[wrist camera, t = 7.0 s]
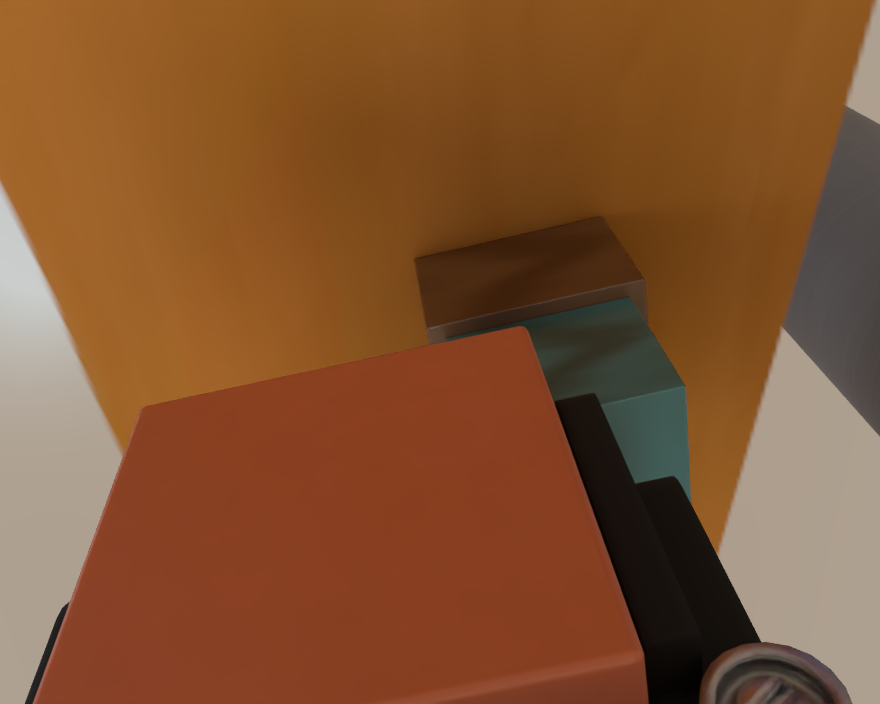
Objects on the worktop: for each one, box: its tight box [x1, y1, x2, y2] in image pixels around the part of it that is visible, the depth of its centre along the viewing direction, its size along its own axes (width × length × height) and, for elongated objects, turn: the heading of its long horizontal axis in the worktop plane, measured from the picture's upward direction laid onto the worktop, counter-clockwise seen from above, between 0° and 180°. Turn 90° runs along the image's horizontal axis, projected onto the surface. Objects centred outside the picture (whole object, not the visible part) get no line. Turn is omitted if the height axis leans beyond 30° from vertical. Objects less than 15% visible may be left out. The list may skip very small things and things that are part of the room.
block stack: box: [414, 217, 691, 503], centre depth 28 cm, size 7×7×10 cm
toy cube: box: [33, 326, 649, 704], centre depth 10 cm, size 5×5×5 cm
